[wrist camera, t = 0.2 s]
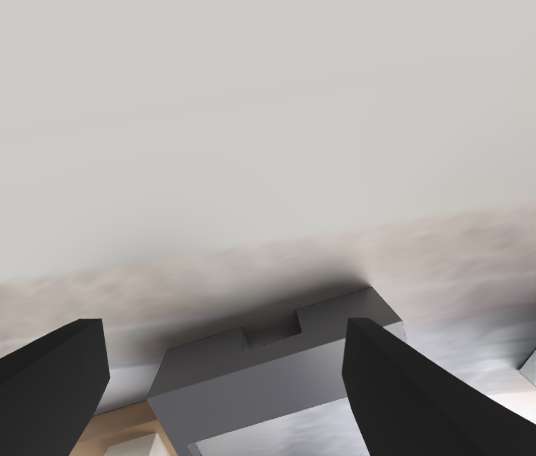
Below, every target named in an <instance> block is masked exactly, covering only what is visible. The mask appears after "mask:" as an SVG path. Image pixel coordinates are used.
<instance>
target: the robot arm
mask: <svg viewBox="0 0 536 456" xmlns="http://www.w3.org/2000/svg"><path fill="white" fill-rule="evenodd" d="M341 375H342V378H343V382H344V385H345V389H346V393H347V396H348V399H349V403H350V406H351V409H352V412H353V415H354V417H355V420H356V422H357V424H358V427H359V429H360V432H361V434H362V437H363V439H364V442H365V444H366V446H367V449H368V451H369V454H370V456H536V424H534V423H532V422H530V421H529V420H527V419H525V418H523V417H521V416H520V415H518V414H516V413H514V412H513V411H511V410H509V409H507V408H505V407H504V406H502V405H500V404H499V403H497V402H495V401H494V400H492V399H490V398H489V397H487V396H485V395H484V394H482V393H480V392H479V391H477V390H476V389H474V388H472V387H471V386H469V385H468V384H466V383H464V382H463V381H461V380H460V379H458V378H457V377H455V376H453V375H452V374H450V373H449V372H447V371H446V370H444V369H443V368H441V367H440V366H438V365H437V364H435V363H434V362H432V361H431V360H429V359H428V358H426V357H425V356H424V355H422V354H421V353H419V352H418V351H416V350H415V349H413V348H412V347H411V346H409V345H408V344H406V343H405V342H403V341H402V340H401V339H399V338H398V337H396V336H395V335H393V334H392V333H391V332H389V331H388V330H386V329H385V328H383V327H382V326H380V325H379V324H377V323H376V322H374V321H373V320H371V319H369V318H348V322H347V331H346V339H345V347H344V356H343V364H342V373H341ZM109 380H110V373H109V366H108V359H107V352H106V345H105V338H104V331H103V324H102V319H78V320H76V321H74V322H71V323H69V324H67V325H65V326H63V327H61V328H59V329H57V330H55V331H53V332H51V333H49V334H47V335H45V336H43V337H41V338H39V339H37V340H35V341H33V342H31V343H29V344H28V345H26V346H24V347H22V348H20V349H18V350H16V351H14V352H12V353H10V354H8V355H6V356H4V357H3V358H1V359H0V456H69V455H70V453H71V451H72V450H73V448H74V446H75V445H76V443H77V441H78V440H79V438H80V436H81V435H82V433H83V431H84V430H85V428H86V426H87V425H88V423H89V421H90V420H91V418H92V416H93V414H94V412H95V410H96V408H97V406H98V404H99V402H100V400H101V398H102V395H103V393H104V391H105V389H106V386H107V384H108V382H109Z"/></svg>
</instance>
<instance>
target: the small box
mask: <svg viewBox="0 0 536 456" xmlns="http://www.w3.org/2000/svg"><path fill="white" fill-rule="evenodd" d="M519 373H520V374H521V375H522V376H524V377H525V378H526V379H527V380H528V381H530V382H531V383H532V384H533V385H535V386H536V350H535V351H534V353H533V354H532V355H531V357H530V358H529V359H528V360H527V362H526V363H525V364H524V365H523V367H522V368H521V369H520V371H519Z"/></svg>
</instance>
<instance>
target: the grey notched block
mask: <svg viewBox="0 0 536 456" xmlns="http://www.w3.org/2000/svg"><path fill="white" fill-rule="evenodd" d="M296 313H297V316H298V320H299V323H300V327H301V331H302V333H300V334H297V335H294V336H291V337H287V338H284V339H281V340H277V341H274V342H271V343H268V344H264V345H261V346H258V347H255V348H251V349H250V348H249V345H248V343H247V340H246V338H245V335H244V333H243V330H242V328H241V327H240V328H237V329H234V330H230V331H227V332H224V333H221V334H217V335H214V336H211V337H208V338H205V339H201V340H198V341H195V342H192V343H188V344H185V345H182V346H179V347H175V348H172V349H169V350H167V352H166V354H165V356H164V359H163V361H162V363H161V366H160V368H159V370H158V373H157V375H156V377H155V380H154V382H153V384H152V387H151V389H150V391H149V394H148V396H147V398H146V400H147V401H148V403H149V405H150V407H151V408H152V410H153V412H154V414H155V416H156V417H157V419H158V421H159V423H160V425H161V426H162V428H163V430H164V432H165V433H166V435H167V437H168V439H169V441H170V442H171V444H172V446H173V448H174V449H175V451H176V453H177V455H178V456H202V455H201V453H200V451H199V449H198V447H197V445H196V443H195V442H197V441H201V440H204V439H207V438H211V437H214V436H218V435H221V434H224V433H228V432H231V431H234V430H238V429H241V428H244V427H248V426H251V425H254V424H258V423H261V422H264V421H268V420H271V419H274V418H278V417H281V416H284V415H288V414H291V413H294V412H298V411H301V410H304V409H308V408H311V407H314V406H318V405H321V404H325V403H328V402H331V401H335V400H338V399H341V398H345V397H348V396H347V393H346V389H345V385H344V382H343V378H342V375H341V373H342V364H343V356H344V347H345V339H346V331H347V322H348V318H369V319H371V320H373V321H374V322H376V323H377V324H379V325H380V326H382V327H383V328H385V329H386V330H388V331H389V332H391V333H392V334H393V335H395V336H396V337H398V338H399V339H401V340H402V341H403V342H405V343H406V344H407V340H406V335H405V330H404V326H403V321H402V320H401V319H400V317H399V316H398V315H397V314H396V313H395V312H394V311H393V310H392V308H391V307H390V306H389V305H388V304H387V303H386V302H385V301H384V300H383V298H382V297H381V296H380V295H379V294H378V293H377V292H376V291H375V290H374V288H373V287H369V288H366V289H363V290H359V291H356V292H353V293H350V294H347V295H343V296H340V297H337V298H334V299H330V300H327V301H324V302H321V303H318V304H314V305H311V306H308V307H305V308H301V309H298V310H296Z"/></svg>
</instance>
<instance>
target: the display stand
mask: <svg viewBox="0 0 536 456" xmlns="http://www.w3.org/2000/svg"><path fill="white" fill-rule="evenodd" d="M69 456H178V455H177V453H176V451H175V449H174V448H173V446H172V444H171V442H170V441H169V439H168V437H167V435H166V433H165V432H164V430H163V428H162V426H161V425H160V423H159V421H158V419H157V417H156V416H155V414H154V412H153V410H152V408H151V407H150V405H149V403H148V401H147V400H146V401H143V402H139V403H136V404H133V405H129V406H126V407H123V408H120V409H116V410H113V411H110V412H107V413H103V414H100V415H97V416H93V417H92V418H91V420H90V421H89V423H88V425H87V426H86V428H85V430H84V431H83V433H82V435H81V436H80V438H79V440H78V441H77V443H76V445H75V446H74V448H73V450H72V451H71V453H70V455H69Z"/></svg>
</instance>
